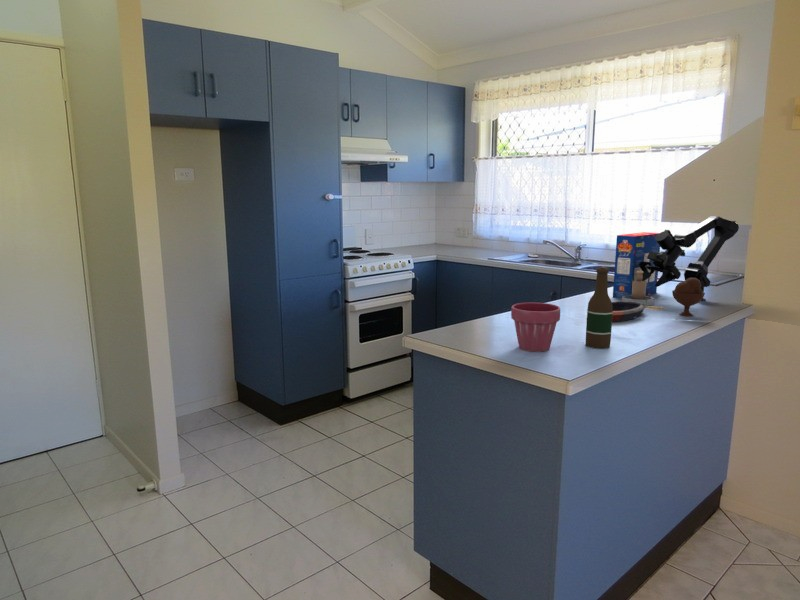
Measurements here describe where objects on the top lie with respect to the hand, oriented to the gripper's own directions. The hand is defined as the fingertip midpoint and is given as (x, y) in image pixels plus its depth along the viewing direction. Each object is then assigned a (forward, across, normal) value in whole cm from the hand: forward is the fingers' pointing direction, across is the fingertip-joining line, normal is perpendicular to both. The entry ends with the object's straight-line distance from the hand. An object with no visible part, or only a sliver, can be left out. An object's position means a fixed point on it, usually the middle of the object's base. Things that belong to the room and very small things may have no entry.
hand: (647, 284), depth 244 cm
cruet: (+8, 0, +2) cm, 8 cm away
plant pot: (+65, +44, -56) cm, 96 cm away
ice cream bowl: (+10, +26, +2) cm, 28 cm away
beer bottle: (+51, +49, -42) cm, 82 cm away
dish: (+27, +17, -16) cm, 36 cm away
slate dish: (+9, 0, +2) cm, 9 cm away
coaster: (+10, +11, +1) cm, 15 cm away
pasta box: (-1, -17, +13) cm, 22 cm away
